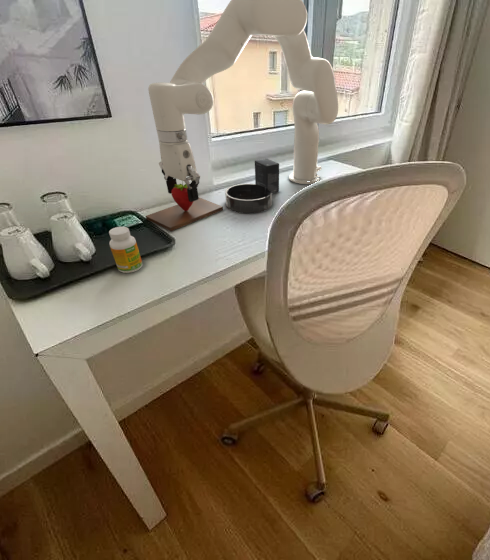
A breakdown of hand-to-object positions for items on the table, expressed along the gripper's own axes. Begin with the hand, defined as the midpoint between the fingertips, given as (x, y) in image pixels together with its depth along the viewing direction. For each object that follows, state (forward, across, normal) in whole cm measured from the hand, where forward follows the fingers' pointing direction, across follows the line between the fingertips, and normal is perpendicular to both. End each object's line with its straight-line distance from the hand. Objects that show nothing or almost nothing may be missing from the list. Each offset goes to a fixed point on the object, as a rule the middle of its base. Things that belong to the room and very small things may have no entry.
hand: (183, 196), depth 97 cm
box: (+6, -5, -33) cm, 34 cm away
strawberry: (+5, 0, 0) cm, 5 cm away
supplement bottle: (+6, -14, +27) cm, 31 cm away
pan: (+6, -9, -19) cm, 22 cm away
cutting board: (+6, 0, 0) cm, 6 cm away
